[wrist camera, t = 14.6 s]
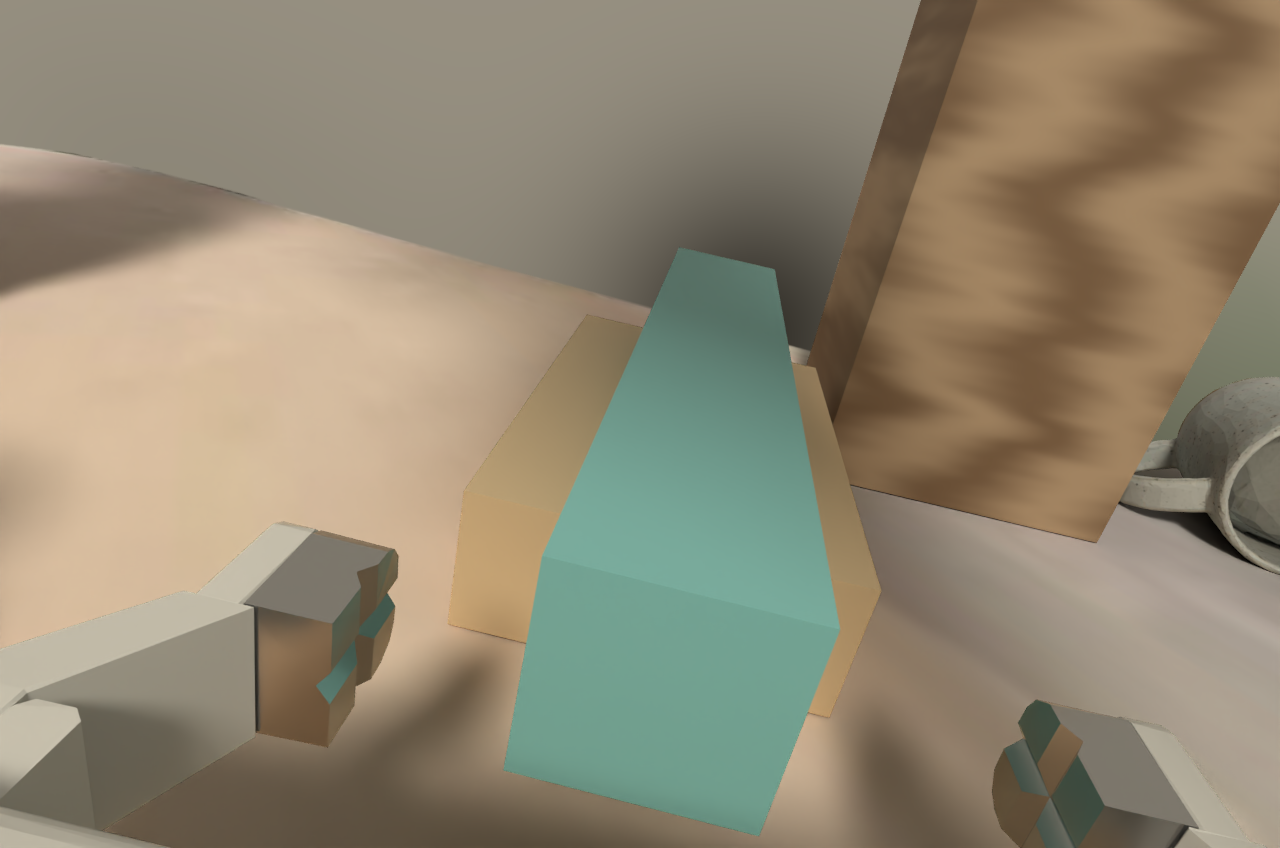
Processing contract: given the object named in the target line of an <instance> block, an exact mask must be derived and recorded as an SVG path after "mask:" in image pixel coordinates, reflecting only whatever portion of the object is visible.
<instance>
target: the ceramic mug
mask: <svg viewBox="0 0 1280 848" xmlns="http://www.w3.org/2000/svg"><path fill="white" fill-rule="evenodd" d="M1168 468H1177V469H1179V470H1180V472H1181V475H1182V477H1183V478H1156V477H1148V476H1139V475H1133V476H1132V478H1131V480H1130V482H1129V484H1128V486H1127V488H1126V489H1125V491H1124V493H1123V495H1122V497H1121V499H1120V501H1121V502H1122V503H1125V504H1128V505H1131V506H1135V507H1139V508H1143V509H1149V510H1156V511H1171V512H1207V513H1208V515H1209V516H1210V518H1211V519H1212V520H1213V522H1214V523H1215V524H1216V525H1217V527H1218V528H1219V529H1220V531H1221V532H1222V534H1223V535H1224V536H1225V537H1226V538H1227V540H1228V541H1229V542H1230V543H1231V544H1232V545H1233V546H1234V547H1235V548H1236V549H1237V550H1238V551H1239V552H1240V553H1241V554H1242V555H1243V556H1244V557H1245V558H1247V559H1248V560H1250V561H1251V562H1252V563H1254V564H1256V565H1258V566H1260V567H1262V568H1264V569H1266V570H1268V571H1270V572H1273V573H1276V574H1279V575H1280V377H1261V378H1250V379H1245V380H1241V381H1237V382H1234V383H1232V384H1229V385H1226V386H1224V387H1222V388H1219V389H1217V390H1215V391H1213V392H1212V393H1210V394H1209V395H1207V396H1206V397H1204V398H1203V399H1202V400H1201V401H1200V402H1199V403H1198V404H1197V405H1196V406H1194V408H1193V409H1192V410H1191V411H1190V412H1189V413H1188V415H1187V416H1186V418H1185V419H1184V421H1183V423H1182V425H1181V428H1180V430H1179V433H1178V437H1177V438H1176V439H1173V440H1161V441H1154V442H1151V443H1150V445H1149V447H1148V449H1147V450H1146V452H1145V454H1144V456H1143V458H1142V460H1141V462H1140V463H1139V465H1138V467H1137V469H1136V471H1135V472H1140V471H1147V470H1157V469H1168Z"/></svg>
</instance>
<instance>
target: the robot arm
mask: <svg viewBox="0 0 1280 848" xmlns="http://www.w3.org/2000/svg"><path fill="white" fill-rule="evenodd" d="M397 578H398V554H397V553H396V551H395V549H392V548H388V547H384V546H380V545H376V544H372V543H368V542H364V541H360V540H356V539H353V538H349V537H345V536H341V535H337V534H333V533H329V532H325V531H318V530H316V529H312V528H308V527H304V526H300V525H296V524H291V523H287V522H279V523H274V524H272V525H271V526H270V527H268V528H267V529H266V530H265V531H264V532H263V533H262V534H261V535H260V536H259V537H257V538H256V539H255V540H254V541H253V542H252V543H251V544H250V545H249V546H248V547H246V548H245V549H244V550H243V551H242V552H241V553H240V554H239V555H238V556H237V557H235V558H234V559H233V560H232V561H231V562H230V563H229V564H228V565H227V566H226V567H224V568H223V569H222V570H221V571H220V572H219V573H218V574H217V575H216V576H215V577H213V578H212V579H211V580H210V581H209V582H208V583H207V584H206V585H205V586H204V587H202V588H201V589H200V590H199V591H198V592H197V593H192V592H187V591H181V592H178V593H175V594H172V595H168V596H165V597H162V598H159V599H156V600H153V601H150V602H146V603H143V604H140V605H137V606H134V607H131V608H128V609H124V610H121V611H118V612H115V613H112V614H109V615H105V616H102V617H99V618H96V619H93V620H90V621H87V622H83V623H80V624H77V625H74V626H71V627H68V628H64V629H61V630H58V631H55V632H52V633H49V634H46V635H42V636H39V637H36V638H33V639H30V640H27V641H23V642H20V643H17V644H14V645H11V646H8V647H5V648H1V649H0V848H171V847H167V846H162V845H158V844H154V843H150V842H146V841H142V840H138V839H134V838H130V837H125V836H121V835H117V834H113V833H109V832H105V831H102V830H104V829H106V828H107V827H109V826H110V825H112V824H114V823H115V822H117V821H119V820H120V819H122V818H124V817H125V816H127V815H128V814H130V813H132V812H133V811H135V810H137V809H138V808H140V807H142V806H143V805H145V804H146V803H148V802H150V801H151V800H153V799H155V798H156V797H158V796H160V795H161V794H163V793H164V792H166V791H168V790H169V789H171V788H173V787H174V786H176V785H178V784H179V783H181V782H182V781H184V780H186V779H187V778H189V777H191V776H192V775H194V774H196V773H197V772H199V771H200V770H202V769H204V768H205V767H207V766H209V765H210V764H212V763H214V762H215V761H217V760H218V759H220V758H222V757H223V756H225V755H227V754H228V753H230V752H232V751H233V750H235V749H236V748H238V747H240V746H241V745H243V744H245V743H246V742H248V741H250V740H251V739H253V738H254V737H255V736H256V733H260V734H265V735H270V736H275V737H279V738H284V739H289V740H294V741H299V742H303V743H308V744H313V745H318V746H323V747H327V748H328V746H329V745H330V743H331V742H332V740H333V739H334V737H335V735H336V734H337V732H338V731H339V729H340V727H341V726H342V724H343V723H344V721H345V720H346V718H347V716H348V715H349V713H350V712H351V710H352V708H353V707H354V704H355V689H356V686H358V685H360V684H362V683H364V682H366V681H368V680H370V679H371V678H372V676H373V675H374V673H375V671H376V670H377V668H378V666H379V665H380V663H381V661H382V658H383V656H384V653H385V651H386V648H387V646H388V643H389V641H390V637H391V632H392V628H393V623H394V614H395V605H394V603H393V602H392V600H391V599H390V597H389V595H388V594H387V592H388V591H389V589H390V588H391V586H392V585H393V584H394V582H395V581H396V579H397ZM1018 724H1019V727H1020V730H1021V733H1022V736H1023V739H1021V740H1020V741H1018V742H1016V743H1014V744H1012V745H1010V746H1008V747H1007V748H1005V749H1004V750H1003V752H1002V754H1001V756H1000V759H999V761H998V763H997V765H996V767H995V769H994V778H993V787H992V795H993V803H994V810H995V812H996V815H997V818H998V821H999V824H1000V827H1001V829H1002V830H1003V831H1004V832H1005V833H1006V834H1007V835H1008V836H1009V837H1010V838H1011V839H1012V840H1013V841H1014V842H1015V843H1016V844H1017V845H1018V847H1019V848H1267V847H1266V846H1264V845H1262V844H1258V843H1253V842H1250V841H1249V840H1248V838H1247V837H1246V835H1245V834H1244V833H1243V831H1242V830H1241V828H1240V827H1239V826H1238V824H1237V823H1236V821H1235V820H1234V818H1233V817H1232V816H1231V814H1230V813H1229V811H1228V810H1227V809H1226V807H1225V806H1224V804H1223V803H1222V802H1221V800H1220V799H1219V797H1218V796H1217V795H1216V793H1215V792H1214V790H1213V789H1212V787H1211V786H1210V785H1209V783H1208V782H1207V780H1206V779H1205V778H1204V776H1203V775H1202V773H1201V772H1200V771H1199V769H1198V768H1197V766H1196V765H1195V764H1194V762H1193V761H1192V759H1191V758H1190V756H1189V755H1188V754H1187V752H1186V751H1185V749H1184V748H1183V747H1182V745H1181V744H1180V742H1179V741H1178V740H1177V738H1176V737H1175V735H1174V734H1173V733H1171V732H1170V731H1168V730H1167V729H1166V728H1164V727H1163V726H1161V725H1157V724H1152V723H1147V722H1143V721H1138V720H1133V719H1128V718H1123V717H1117V718H1116V717H1112V716H1107V715H1103V714H1098V713H1094V712H1090V711H1085V710H1081V709H1077V708H1072V707H1068V706H1063V705H1059V704H1055V703H1050V702H1046V701H1041V700H1035V701H1034V702H1033V703H1032V704H1030V705H1029V706H1028V707H1027V708H1026V710H1025V711H1024V713H1023V715H1022V717H1021V718H1020V720H1019V722H1018Z"/></svg>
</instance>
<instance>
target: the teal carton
mask: <svg viewBox="0 0 1280 848" xmlns="http://www.w3.org/2000/svg"><path fill="white" fill-rule="evenodd" d="M839 632H840V625H839V620H838V614H837V609H836V603H835V598H834V592H833V587H832V581H831V576H830V570H829V565H828V560H827V554H826V549H825V543H824V538H823V532H822V527H821V521H820V516H819V510H818V505H817V499H816V494H815V488H814V483H813V477H812V472H811V467H810V461H809V456H808V450H807V445H806V439H805V434H804V428H803V423H802V417H801V412H800V406H799V401H798V395H797V390H796V384H795V379H794V374H793V368H792V363H791V357H790V352H789V346H788V341H787V336H786V330H785V324H784V319H783V313H782V308H781V303H780V297H779V292H778V286H777V281H776V275H775V270H774V269H771V268H766V267H762V266H758V265H753V264H749V263H745V262H741V261H736V260H732V259H728V258H723V257H719V256H715V255H710V254H706V253H702V252H698V251H693V250H689V249H684V248H679V249H678V251H677V253H676V256H675V258H674V260H673V262H672V265H671V267H670V269H669V271H668V274H667V276H666V278H665V280H664V283H663V285H662V287H661V289H660V292H659V294H658V296H657V298H656V301H655V303H654V305H653V307H652V310H651V312H650V314H649V316H648V319H647V321H646V323H645V325H644V328H643V330H642V332H641V334H640V337H639V339H638V341H637V343H636V346H635V348H634V350H633V352H632V355H631V357H630V359H629V361H628V364H627V366H626V368H625V370H624V373H623V375H622V377H621V379H620V382H619V384H618V386H617V388H616V391H615V393H614V395H613V397H612V400H611V402H610V404H609V406H608V409H607V411H606V413H605V415H604V418H603V420H602V422H601V424H600V427H599V429H598V431H597V433H596V436H595V438H594V440H593V442H592V445H591V447H590V449H589V451H588V454H587V456H586V458H585V460H584V463H583V465H582V467H581V469H580V472H579V474H578V476H577V478H576V481H575V483H574V485H573V487H572V490H571V492H570V494H569V496H568V499H567V501H566V503H565V505H564V508H563V510H562V512H561V514H560V517H559V519H558V521H557V523H556V526H555V528H554V530H553V532H552V535H551V537H550V539H549V541H548V544H547V546H546V548H545V550H544V553H543V555H542V559H541V564H540V570H539V576H538V581H537V587H536V592H535V598H534V603H533V609H532V614H531V620H530V626H529V631H528V637H527V642H526V648H525V653H524V659H523V664H522V670H521V676H520V681H519V687H518V692H517V698H516V703H515V709H514V714H513V720H512V726H511V731H510V737H509V742H508V748H507V753H506V759H505V765H504V771H508V772H512V773H516V774H520V775H523V776H527V777H531V778H535V779H539V780H543V781H547V782H551V783H554V784H558V785H562V786H566V787H570V788H574V789H578V790H582V791H585V792H589V793H593V794H597V795H601V796H605V797H609V798H613V799H616V800H620V801H624V802H628V803H632V804H636V805H640V806H644V807H647V808H651V809H655V810H659V811H663V812H667V813H671V814H675V815H678V816H682V817H686V818H690V819H694V820H698V821H702V822H706V823H709V824H713V825H717V826H721V827H725V828H729V829H733V830H737V831H740V832H744V833H748V834H752V835H756V836H759V835H760V832H761V830H762V827H763V825H764V822H765V820H766V817H767V814H768V812H769V809H770V807H771V804H772V802H773V799H774V797H775V794H776V792H777V789H778V787H779V784H780V781H781V779H782V776H783V774H784V771H785V769H786V766H787V764H788V761H789V759H790V756H791V754H792V751H793V748H794V746H795V743H796V741H797V738H798V736H799V733H800V731H801V728H802V726H803V723H804V721H805V718H806V716H807V713H808V710H809V708H810V705H811V703H812V700H813V698H814V695H815V693H816V690H817V688H818V685H819V683H820V680H821V677H822V675H823V672H824V670H825V667H826V665H827V662H828V660H829V657H830V655H831V652H832V650H833V647H834V644H835V642H836V639H837V637H838V634H839Z"/></svg>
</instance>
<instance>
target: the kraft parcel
mask: <svg viewBox="0 0 1280 848" xmlns="http://www.w3.org/2000/svg"><path fill="white" fill-rule="evenodd" d="M642 330H643V328H642V327H638V326H634V325H629V324H625V323H621V322H616V321H612V320H608V319H604V318H599V317H595V316H591V315H586V317H585V318H584V320H583V321H582V323H581V324H580V325H579V327H578V328H577V330H576V331H575V333H574V334H573V335H572V337H571V338H570V340H569V341H568V343H567V344H566V345H565V347H564V348H563V350H562V351H561V353H560V354H559V355H558V357H557V358H556V360H555V361H554V363H553V364H552V365H551V367H550V368H549V370H548V371H547V373H546V374H545V375H544V377H543V378H542V380H541V381H540V383H539V384H538V386H537V387H536V388H535V390H534V391H533V393H532V394H531V396H530V397H529V398H528V400H527V401H526V403H525V404H524V406H523V407H522V408H521V410H520V411H519V413H518V414H517V416H516V417H515V418H514V420H513V421H512V423H511V424H510V426H509V427H508V428H507V430H506V431H505V433H504V434H503V436H502V437H501V438H500V440H499V441H498V443H497V444H496V446H495V447H494V448H493V450H492V451H491V453H490V454H489V456H488V457H487V458H486V460H485V461H484V463H483V464H482V466H481V467H480V469H479V470H478V471H477V473H476V474H475V476H474V477H473V479H472V480H471V481H470V483H469V484H468V486H467V487H466V489H465V490H464V495H463V503H462V512H461V520H460V528H459V536H458V544H457V552H456V560H455V568H454V576H453V584H452V592H451V601H450V609H449V617H448V624H450V625H454V626H458V627H462V628H466V629H470V630H474V631H478V632H482V633H486V634H491V635H495V636H499V637H503V638H507V639H511V640H515V641H519V642H523V643H526V642H527V637H528V631H529V626H530V620H531V614H532V609H533V603H534V598H535V592H536V587H537V581H538V576H539V570H540V564H541V559H542V555H543V553H544V550H545V548H546V546H547V544H548V541H549V539H550V537H551V535H552V532H553V530H554V528H555V526H556V523H557V521H558V519H559V517H560V514H561V512H562V510H563V508H564V505H565V503H566V501H567V499H568V496H569V494H570V492H571V490H572V487H573V485H574V483H575V481H576V478H577V476H578V474H579V472H580V469H581V467H582V465H583V463H584V460H585V458H586V456H587V454H588V451H589V449H590V447H591V445H592V442H593V440H594V438H595V436H596V433H597V431H598V429H599V427H600V424H601V422H602V420H603V418H604V415H605V413H606V411H607V409H608V406H609V404H610V402H611V400H612V397H613V395H614V393H615V391H616V388H617V386H618V384H619V382H620V379H621V377H622V375H623V373H624V370H625V368H626V366H627V364H628V361H629V359H630V357H631V355H632V352H633V350H634V348H635V346H636V343H637V341H638V339H639V337H640V334H641V332H642ZM791 363H792V362H791ZM792 368H793V374H794V379H795V384H796V390H797V395H798V401H799V406H800V412H801V417H802V423H803V428H804V434H805V439H806V445H807V450H808V456H809V461H810V467H811V472H812V477H813V483H814V488H815V494H816V499H817V505H818V510H819V516H820V521H821V527H822V532H823V538H824V543H825V549H826V554H827V560H828V565H829V570H830V576H831V581H832V587H833V592H834V598H835V603H836V609H837V614H838V620H839V625H840V632H839V634H838V637H837V639H836V642H835V644H834V647H833V650H832V652H831V655H830V657H829V660H828V662H827V665H826V667H825V670H824V672H823V675H822V677H821V680H820V683H819V685H818V688H817V690H816V693H815V695H814V698H813V700H812V703H811V705H810V708H809V710H808V713H812V714H817V715H821V716H825V717H830V715H831V712H832V710H833V707H834V705H835V703H836V700H837V698H838V695H839V693H840V690H841V688H842V686H843V683H844V681H845V678H846V676H847V673H848V671H849V669H850V666H851V664H852V661H853V659H854V656H855V654H856V652H857V649H858V647H859V644H860V642H861V639H862V637H863V635H864V632H865V630H866V627H867V625H868V622H869V620H870V618H871V615H872V613H873V610H874V608H875V605H876V603H877V601H878V598H879V596H880V593H881V588H880V584H879V581H878V578H877V574H876V571H875V567H874V564H873V561H872V557H871V554H870V550H869V547H868V544H867V540H866V537H865V533H864V530H863V527H862V523H861V520H860V517H859V513H858V510H857V506H856V503H855V500H854V496H853V493H852V489H851V486H850V483H849V479H848V476H847V472H846V469H845V466H844V462H843V459H842V456H841V452H840V449H839V445H838V442H837V439H836V435H835V432H834V428H833V425H832V422H831V418H830V415H829V411H828V408H827V405H826V401H825V398H824V395H823V391H822V388H821V384H820V381H819V378H818V374H817V371H816V368H814V367H809V366H805V365H801V364H796V363H792Z"/></svg>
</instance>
